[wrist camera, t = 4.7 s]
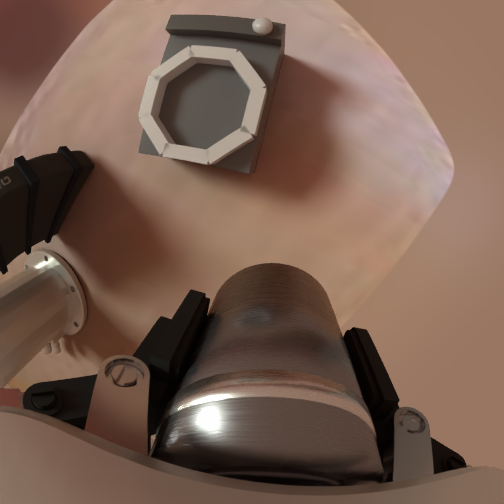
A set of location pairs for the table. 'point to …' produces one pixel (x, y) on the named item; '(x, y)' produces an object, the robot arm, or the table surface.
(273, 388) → the lens
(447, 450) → the robot arm
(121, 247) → the table surface
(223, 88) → the camera body
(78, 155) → the black device
